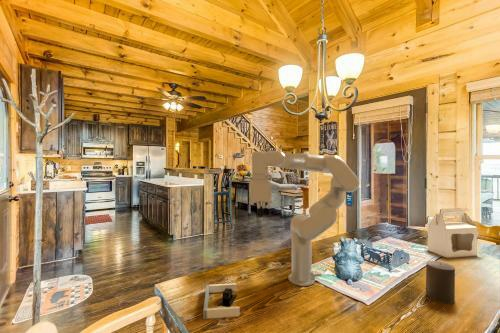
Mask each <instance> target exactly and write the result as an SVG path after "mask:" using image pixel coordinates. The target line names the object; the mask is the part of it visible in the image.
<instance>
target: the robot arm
mask: <svg viewBox="0 0 500 333" xmlns="http://www.w3.org/2000/svg"><path fill="white" fill-rule="evenodd" d="M269 167H272V168H284V169H292V170H297V171H303V172H313V173H322V174H331V175H332V177H331V178H330V189H329V191H328V193H326V194H325V195H324V196H323V197H322V198H320V199H318V201H316V202H315V203H314V204H312V205H311V206H310V207H309V209H308V215H309V216H307V215H305V214H296V215H294V216H293V217H292V218H291V220H290V223H289V225H290V226H289V228H290V236H291V273H290V274H289V275H288V281H289V283H291V284H293V285H296V286H299V287H300V286H301V287H308V286H312V285H314V284H315V282H316V279H315V278H316V277H317V278H318V277H322V276H323V275H322V272H320V271H317V270H312V269H313V268H312V263H313V261H312V251H313V250H312V248H313V246H312V245H313V243H312V240H315V239H316V238H318V237H319V236H321V235H322V234H323V233H324V232H326V231H327V230H328V229H330V228H331V227H332V226H334V224H335V223H336V222H337V219H338V211H337V210H338V209H339V208H340V207H341V206H343V204H344V202H345V200H346V194H347V193H353V192H355V191H357V189H358V188H359V185H360V181H359V178H358V176H357V175H356V174H355V172H354V171H353V170H352V169H351V168H350V167H349V165H348V164H347V163H346V162H345V161H344V160H343V159H342V158H341V157H340V156H338V155H324V154H323V155H322V154H314V153H313V154H312V153H308V152H301V153H288V152H282V151H280V150H273V151H271V150H270V151H265V150H264V151H263V150H261V151H260V150H259V151H258V150H257V151H253V152H252V153H251V180H250V182H249V189H248V190H249V194H248V198H249V202H248V203H249V205H251V206H255V207H256V209H257V210H256V215H257V216H258V218H263V217H264V215H265V209H266V206H268V205H271V204H273V202H272V201H273V200H272V186H271V182H270V180H269V179H270V178H272V175H271V174H269ZM260 203H261V206H260Z"/></svg>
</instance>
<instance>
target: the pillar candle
mask: <svg viewBox="0 0 500 333" xmlns="http://www.w3.org/2000/svg"><path fill="white" fill-rule="evenodd" d="M425 268H426V269H425V270H426V271H425V277H426V278H425V295H426V296H427V297H428V298H430V299H431V300H433V301H435V302H438V303H443V304H453V303H455V298H456V296H455V293H456V291H455V290H456V289H455V288H456V285H455V284H456V281H455V280H456V272H455V271H456V268H455V266H453V265H451V264H450V263H446V262H442V261H436V260H428V261H426V266H425Z"/></svg>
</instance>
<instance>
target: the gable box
mask: <svg viewBox="0 0 500 333" xmlns="http://www.w3.org/2000/svg"><path fill="white" fill-rule="evenodd" d="M444 217H458V219H457V221H447V222H446V221H445V220H444ZM427 251H429V252H431V253H434V254H436V255H439V256H441V257H444V258H458V257H461V258H462V257H463V258H464V257H475V256H478V227H477V225H476V224H475V222H473V220H472V218H470V216H469V215H468V214H467V213H466V210H464V209H463V208H459V207H458V208H441V209H440V210H439V213H437V214H435V215H434V216H433V217H432V219H430V220H429V222H428V223H427Z"/></svg>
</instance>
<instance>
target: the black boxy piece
mask: <svg viewBox="0 0 500 333" xmlns="http://www.w3.org/2000/svg"><path fill="white" fill-rule="evenodd" d="M237 297H238V295H237V294H233V291H232V289H229V288H226V289H225V290H224V291H223V292H222V297H221V299H220V301H219V302H218V304H217V306H219V307H232V305H233V304H234V302H235V300H236V298H237Z"/></svg>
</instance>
